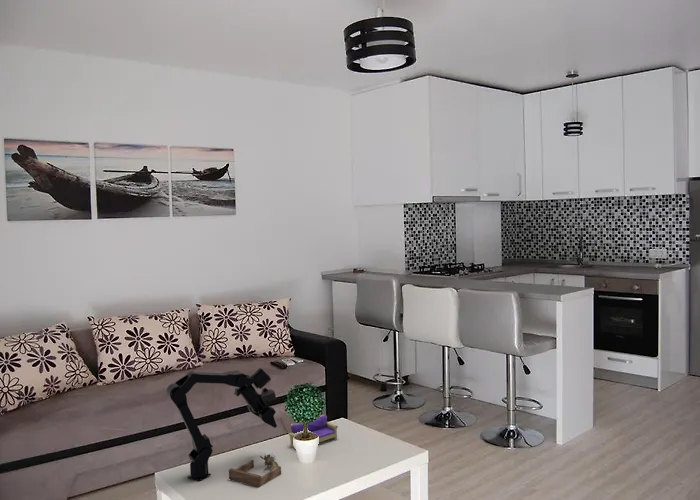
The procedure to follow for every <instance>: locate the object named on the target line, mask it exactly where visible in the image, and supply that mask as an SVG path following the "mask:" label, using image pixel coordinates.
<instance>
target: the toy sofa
mask: <svg viewBox="0 0 700 500" xmlns="http://www.w3.org/2000/svg"><path fill="white" fill-rule="evenodd" d="M319 416H320V417H319ZM319 416H318V417H319V418H318V419H317V420H316V421H315V422H312V423H309V424H308V430H309V431H311V432H313V433H316V434H317V435H318V436H319V442H318V443H321V442H324V441H326V440H327V441H328V440H330V439H332V440H335V441H337V440H338V434H337V433H338V432H337V429H338V427H339V426H338V425H337V424H335V423H332V422H329V421H328V416H327V415H326V414H321V415H319ZM290 428H291V429H290V430H291V432H288V436H289V439H290V447H291V448H293V449H295V448H294V446H293V437H294V434H295V433H297V432H300V431H303V425H302V424H299V423H291V424H290Z"/></svg>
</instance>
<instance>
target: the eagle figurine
mask: <svg viewBox="0 0 700 500" xmlns="http://www.w3.org/2000/svg"><path fill="white" fill-rule="evenodd" d="M259 457H260V458H261V459H263V461H264V471H265V470H267V469H268V467H270V469H269V471H268V472H270V471H271V470H273V469H275V468H276V467H278V466H279V464H278V463H277V461H276V460H277V455H276V453H274V452H271V454H270V453H269V454H267V455H265V454H264V457H263V456H262V455H259Z"/></svg>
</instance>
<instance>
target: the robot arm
mask: <svg viewBox="0 0 700 500" xmlns="http://www.w3.org/2000/svg"><path fill="white" fill-rule="evenodd" d="M271 381H272V379H271V377H270V376H269V374H267V373H266V372H265V370H263V368H262V367H259V368H258V369H257V370H256V371H255V372H254V373H253V374H251V376H250V375H248V374H245V373H244V372H242V371H240V370H238V369H237V370H230V371H226V372H209V371H208V372H205V371H204V372H203V371H193V370H191V371H189V372H188V373H187V374H185V375H184V376H182V377H181V378H178V380H176V381H175V382H173V383H171V384H169V385H168V386H167V388H166V395H167V396H168V398H169V399H170V401H171V402H172V403H173V404H174V406H175V407H176V408H177V410H178V412H179V414H180V416H181V419H182V420H183V423H184V425H185V427H186V429H187V431H188V433H189V435H190V438H191V444H192V450H191V451H189V452H190V453H188V455H187V457H188V458H189V459H190V461H191V462H190V463H189V467H190V468H189V469H190V471H189V472H190V475H188V476H187V479H190V480H192V481H193V480H194V481H196V482H201V481H202V480H204V479H207V478H208V477H210V476H212V473H210V472H209V463H208V462H209V460H210V457H211V456H212V454H213V447H214V446H213V445H212V444H211V440H210V438H209V437H208V436H207V434H205V433H203V434H202V432H201V430H200V429H199V425H198V424H197V422H196V419H195V418H194V415H193V413H192V412H191V409H190V407H189V405H188V398H187V395H186V394H188V393H189V392H190V391H191V390H192V388H193V387H194V386H195V385H196V384H197V383H198V384H222V385H228V386H231V387H236V388H234V395H235V396H236V397H239V396H240V395H241V396H242V398H243V399H244V400H245V403H246V404H247V405H246V407H247V409H248V411H249V412H251V413H252V414H253V415H255V416H257V417H258V418H259V419H260V420H261V421H262V422H264V423H265V424H267V425H269V426H270V427H272V428H274V429H275V428H277V427H278V425H277V423H276V419H275V416H274V415H275V414H276V413H277V411H276V410H275V408H274V407H272V406H271V405H268V403H269V402H271V401H275V400H276V399H277V396H276V392H275V391H274V390H273V389H268V388H266V387H265V386H266V385H267V384H268V383H270V382H271ZM257 389H259V390H261V392H260V393H259V392H258V391H257Z"/></svg>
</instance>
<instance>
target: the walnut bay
mask: <svg viewBox="0 0 700 500" xmlns="http://www.w3.org/2000/svg"><path fill="white" fill-rule="evenodd" d="M254 468H255V461H254V460H253V459H251V460H249V461H247V462H245V463H243V464H242V465H239V466H238V467H236V468H229V469H228V480H229V479H230V480H229V481H232V480H234V481H233V482H236V481H238V482H237V483H240V482H242V483H241V484H244V485H247V484H248V485H249V486H252V487H255V488H260V487H262V486H263V485H265V484H267V483H268V482H270V481H272V480H273V479H276V478H278V476H280V475H282V467H281V466H280V465H278V467H276V468H275V469H273V470H271V471H270V470H269V471H270V472H269V471H268V472H266V473H264V474H263V475H261V474H255V473H251V472H249V471H250V470H253V469H254Z"/></svg>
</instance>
